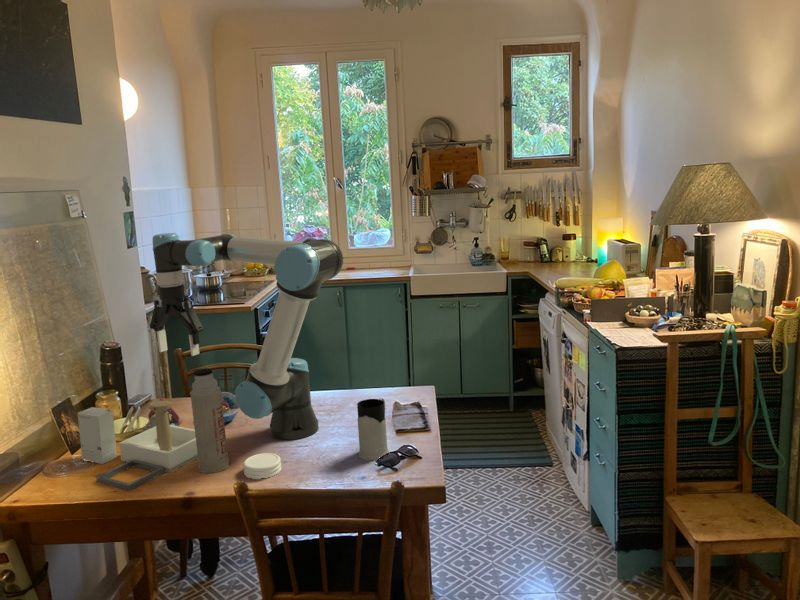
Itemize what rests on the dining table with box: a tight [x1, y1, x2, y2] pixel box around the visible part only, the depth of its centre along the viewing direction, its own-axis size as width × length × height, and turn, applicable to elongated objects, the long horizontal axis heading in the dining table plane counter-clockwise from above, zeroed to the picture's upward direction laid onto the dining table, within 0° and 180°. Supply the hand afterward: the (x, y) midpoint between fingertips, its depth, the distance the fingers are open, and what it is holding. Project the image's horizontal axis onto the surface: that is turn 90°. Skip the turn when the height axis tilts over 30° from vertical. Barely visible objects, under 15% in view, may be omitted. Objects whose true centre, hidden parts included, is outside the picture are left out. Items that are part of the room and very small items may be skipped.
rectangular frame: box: [95, 460, 166, 492], centre depth 186 cm, size 13×12×2 cm
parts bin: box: [118, 425, 198, 473], centre depth 199 cm, size 20×16×6 cm
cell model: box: [221, 391, 240, 424], centre depth 224 cm, size 10×12×10 cm
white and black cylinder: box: [356, 397, 390, 461], centre depth 194 cm, size 9×14×15 cm, turn 160°
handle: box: [148, 400, 173, 452], centre depth 198 cm, size 5×6×15 cm
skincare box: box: [77, 406, 118, 465], centre depth 198 cm, size 8×6×15 cm
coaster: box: [243, 452, 282, 480], centre depth 185 cm, size 10×10×4 cm
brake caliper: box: [142, 398, 183, 431], centre depth 217 cm, size 11×11×12 cm
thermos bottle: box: [189, 367, 230, 474], centre depth 187 cm, size 8×8×28 cm
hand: (179, 352), depth 210 cm, fingers open, 13 cm apart
